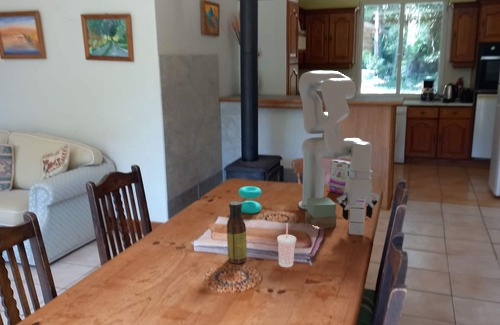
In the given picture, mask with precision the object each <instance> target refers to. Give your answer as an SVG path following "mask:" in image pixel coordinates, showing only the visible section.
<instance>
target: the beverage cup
mask: <svg viewBox="0 0 500 325" xmlns="http://www.w3.org/2000/svg"><path fill="white" fill-rule="evenodd" d="M285 227H286V228H285V229H286V230H285V231H286V232H285V234H280V235H278V236H277V237H276V238H277V246H278V264H279V266H280V267H283V268H290V267H292V266H293V265H294V259H295V248H296V242H297V236H294V235H292V234H289V233H288V232H289V231H288V230H289V223H288V222H287V223H286V226H285Z"/></svg>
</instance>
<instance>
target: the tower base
mask: <svg viewBox="0 0 500 325" xmlns="http://www.w3.org/2000/svg"><path fill="white" fill-rule="evenodd" d="M304 213H305V215H304V222H305V223H306V224H307V223H308V225H309V224H311V225H314V226H318V227H320V228H323V229H330V228H335V227H337V213H336V214H335V216H334V217H312V215H311V214H310V213H309V212H308V211H307V210H305V212H304Z"/></svg>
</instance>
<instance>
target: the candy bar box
mask: <svg viewBox="0 0 500 325" xmlns="http://www.w3.org/2000/svg"><path fill="white" fill-rule="evenodd" d="M329 174H330V176H329V192H330V193H335V194H338V195H340V196H341V195H343V194H344V190H345V184H346V180H347V177H349V176H350V161H348V160H344V159H340V158H338V159H336V158H333V159H331V160H330V173H329Z"/></svg>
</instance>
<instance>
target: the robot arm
mask: <svg viewBox="0 0 500 325" xmlns="http://www.w3.org/2000/svg"><path fill="white" fill-rule="evenodd" d="M299 77H300V78H299V81H298V91H299V95H300V98H301V99H300V100H301V103H302V116H303V117H302V118H303V128H304V131H305V133H306V134H309V135H323V136H317V137H315V136H314V137H309V138H306V139H305V140H304V141H303V142H302V144H301V152H302V161H303V166H302V168H303V172H302V174H303V175H302V198H301V201H299V202H298V207H299V208H300V209H302V210H305V211H307V198H325V196H324V195H325V178H326V177H325V175H326V169H325V165H324V164H323V162H322V160H323V159H332V158H333V159H348V158H350V176H349V177H347V180H346V184H345V190H344V194H343V195H341V194H340V195H339V196H338V197H337V198H336V201H337V203H338V205H339V206H340V207H341V208H342V214H341V215H342V218H343V219H344V220H346V221H349V208H350V205H355V204H356V203H357V201H358V199H359V198H365V200H366V201H365V205H366V206H365V217H368V218H369V219H372V216H373V210H374V209H373V208H375V206H376V205H377V204H378V201H379V200H380V198H381V197H380V196H381V195H379V194H377V193H375V192H374V191H373V190H374V189H373V180H372V177H371V176H372V175H373V174H374V170H372V155H373V154H372V153H373V145H372V143H371V142H370V141H366V140H365V141H364V140H363V139H360V138H358V137H346V138H343V137H342V138H341V123H340V122H341V121H343V120H345V119H346V118H347V117H348V116H349V115H350V108H349V104H348V101H347V100H351V99H352V98H354V97H355V96H356V92H357V90H356V89H357V88H356V84H355V81H353V79H351V78H350V77H349V76H347V75H344V74H342V72H339V71H335V70H312V71H311V70H310V71H307V72H304V73H302V74H301V76H299ZM317 92H321V95H322V99H323V101H322V99H321V98H320V96H319V94H318V93H317ZM323 102H324V103H323ZM323 104H324V106H325V110H326V111H324V110H323ZM343 201H344V202H343Z"/></svg>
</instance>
